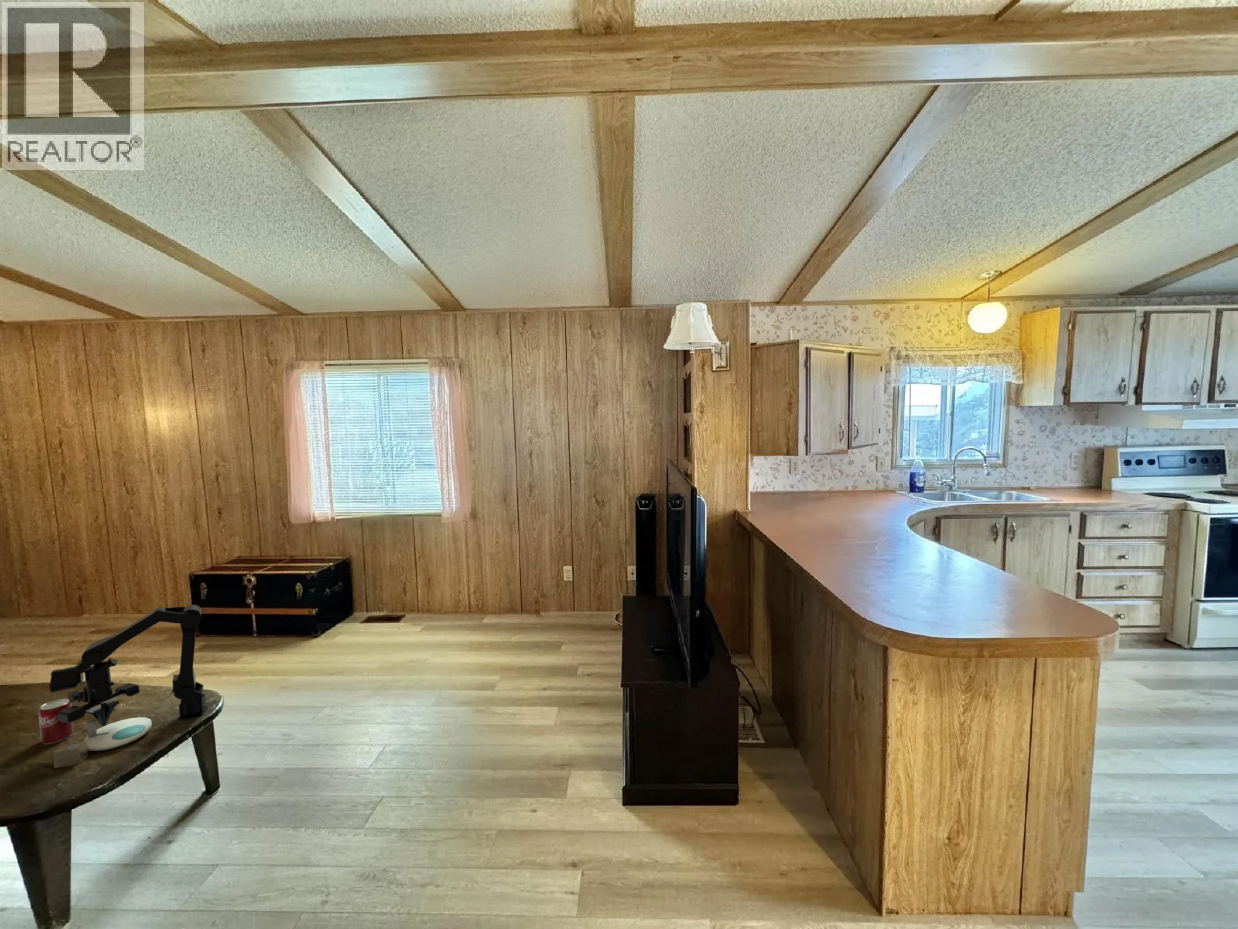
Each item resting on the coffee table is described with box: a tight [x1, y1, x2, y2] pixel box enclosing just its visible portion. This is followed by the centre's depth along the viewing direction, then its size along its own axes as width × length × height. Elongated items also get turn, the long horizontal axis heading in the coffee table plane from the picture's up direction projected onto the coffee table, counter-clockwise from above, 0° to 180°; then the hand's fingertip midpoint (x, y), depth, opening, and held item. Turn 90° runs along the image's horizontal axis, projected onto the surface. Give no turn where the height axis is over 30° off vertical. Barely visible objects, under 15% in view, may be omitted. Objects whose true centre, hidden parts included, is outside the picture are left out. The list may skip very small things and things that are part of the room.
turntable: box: [83, 716, 153, 752], centre depth 165 cm, size 16×16×6 cm
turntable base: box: [79, 737, 141, 752], centre depth 165 cm, size 17×13×1 cm
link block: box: [52, 741, 89, 769], centre depth 154 cm, size 6×4×5 cm, turn 111°
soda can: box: [38, 698, 74, 745], centre depth 165 cm, size 7×7×12 cm
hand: (103, 726), depth 166 cm, fingers closed
